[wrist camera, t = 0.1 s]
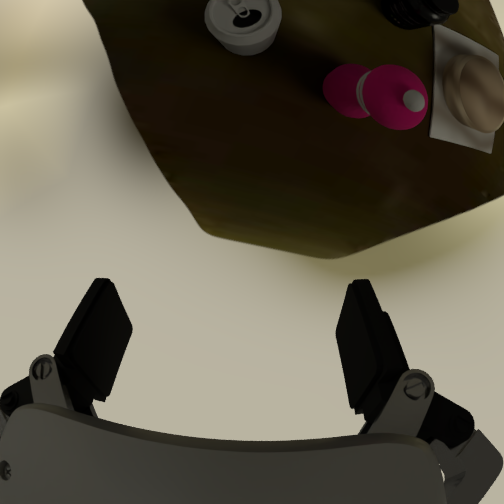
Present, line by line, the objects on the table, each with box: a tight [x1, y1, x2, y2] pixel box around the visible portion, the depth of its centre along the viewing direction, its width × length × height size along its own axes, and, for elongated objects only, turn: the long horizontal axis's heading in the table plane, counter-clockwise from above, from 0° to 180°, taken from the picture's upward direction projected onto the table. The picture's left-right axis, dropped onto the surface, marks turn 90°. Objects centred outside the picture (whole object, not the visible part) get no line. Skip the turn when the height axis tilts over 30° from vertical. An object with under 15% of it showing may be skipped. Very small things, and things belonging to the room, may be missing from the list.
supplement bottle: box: [381, 0, 459, 30], centre depth 18 cm, size 7×7×12 cm
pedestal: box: [429, 24, 504, 153], centre depth 26 cm, size 20×16×5 cm
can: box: [205, 0, 282, 55], centre depth 22 cm, size 8×8×12 cm
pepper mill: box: [323, 64, 428, 130], centre depth 23 cm, size 7×7×20 cm
